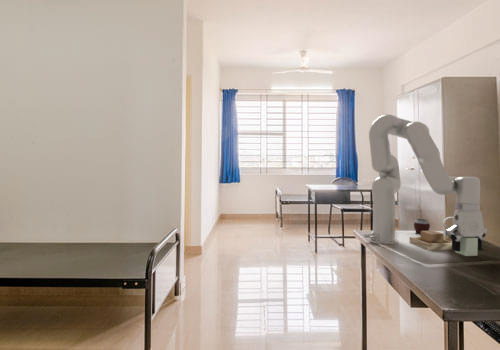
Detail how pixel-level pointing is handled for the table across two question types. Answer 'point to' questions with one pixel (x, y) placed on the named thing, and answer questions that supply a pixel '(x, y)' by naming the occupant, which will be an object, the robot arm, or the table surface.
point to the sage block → (468, 246)
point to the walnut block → (432, 237)
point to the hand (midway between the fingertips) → (466, 249)
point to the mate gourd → (421, 224)
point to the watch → (445, 225)
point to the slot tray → (436, 246)
